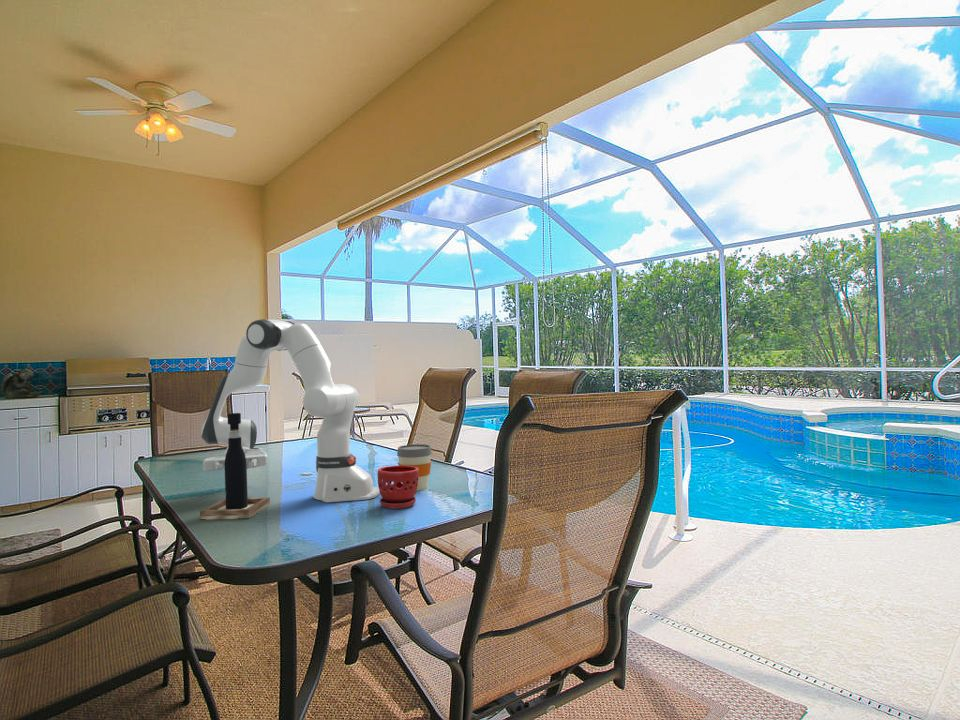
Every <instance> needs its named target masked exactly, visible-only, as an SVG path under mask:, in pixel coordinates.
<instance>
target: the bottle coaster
mask: <svg viewBox="0 0 960 720" xmlns="http://www.w3.org/2000/svg"><path fill="white" fill-rule="evenodd" d="M270 505H271V498H270V497H248V506H247V507H245V508H243V509H226V498H223V499H220V500H219V501H217V502H215V503H213V504H212V505H209V506H208V507H206V508H204V509H201V510H200V511H199V520H200V519H206V520H237V519H238V518H241V519H242V518H249V519H251V518H252V517H254V516H255V515H257V514H258V513H260V512H262V511H263V510H265V509H266V508H268V507H269V506H270ZM267 506H268V507H267ZM264 508H265V509H264ZM262 509H263V510H262ZM261 510H262V511H261ZM259 511H260V512H259ZM256 513H257V514H256ZM253 515H254V516H253ZM250 517H251V518H250ZM241 519H240V520H241ZM238 520H239V519H238Z"/></svg>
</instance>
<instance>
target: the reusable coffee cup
mask: <svg viewBox="0 0 960 720" xmlns="http://www.w3.org/2000/svg"><path fill="white" fill-rule="evenodd" d="M432 454H433V453H432V447H431V445H430V444H422V443H421V444H420V443H419V444H418V443H416V444H405V445H401V446H398V447H397V454H396V455H397V458H398V463H397V464H398V465H397V466H414V467H417V468H418V469H419V479H418V487H417V491H416V492H418V491H423V490H427V489H428V485H429V477H430V474H431V467H432V461H431V455H432ZM401 483H402V482H401ZM402 484H403V483H402Z"/></svg>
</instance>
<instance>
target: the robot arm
mask: <svg viewBox="0 0 960 720" xmlns="http://www.w3.org/2000/svg"><path fill="white" fill-rule="evenodd" d="M273 351H278V352H281V351H288V354H289V355H290V357H291V358H292V361H293V362H294V365H295V367H296V369H297V371H298V372H299V375H300V377H301V380H302V384H303V388H304V396H303V398H302V399H303V400H302V403H303V408H304V411H306V413H307V414H308V415H310V416H312V417H316V418H323V419H322V422H321V426H320V428H319V430H318V432H317V434H316V448H317V449H316V450H317V452H316V456H315V457H316V458H315V469H316V470H315V471H316V482H315V483H316V484H315V490H314V494H313V499H315V500H319V501H321V502H323V503H335V502H350V501H351V502H352V501H365V500H370V499H371V500H372V499H374V498H376V497H377V496H378V495H379V494H380V491H379V487H378V486H377V487H376V486H374V482H373V478H372V476H371V474H370V473H369V472H367V471H366V470H364V469H363V468H362V467H360V466H359V465H357V455H353V454H352V453H351V442H350V441H351V437H350V436H351V435H350V434H351V426H352V423H353V416H354V413H355V409H356V407H357V406H358V404H359V402H360V401H359V400H360V395H359V392H358V391H357V389H356V388H355V387H354V386H352V385H349V384H347V383H335V382H334V380H333V378H332V377H333V376H332V373H331V372H332V370H331V369H332V362H331V360H330V358H329V356H328V355H327V353H326V351H325V349H324V347H323V346H322V343H321V342H320V340H319V339H318V337H317V335H316V334H315V333H314V331H313V330H312V328H310V327H309V325H308V324H307V323H302V322H301V323H294V322H291V321H289V320H287V321H286V320H281V319H280V320H279V319H273V318H272V319H264V318H260V319H256V320H254V321H252V322H250V323H249V325H248V326H247V328H246V331H245V335H244V336H242V338H241V340H240V342H239V345H238V348H237V352H236V355H235V361H234V365H233V368H232V369H231V371H230V372H229V373H227V374H224V376H223V377H222V378H221V380H220V382H219V385H218V388H217V390H216V392H215V395H214V397H213V401H212V403H211V406H210V409H209V412H208V415H207V417H206V418H205V421H204V422H203V424H202V426H201V430H200V436H201V439H202V440H203V441H204V442H205V443H206V444H208V445H228V446H227V447H226V449H225V450H224V452H223V456H212V457H211V456H210V457H207V458H205V459H203V461H202V471H203V472H212V471H221V470H223V471H225V465H224V464H225V457H226V453H227V450H228V447H229V444H228V439H229V438H230V437H229V436H230V435H229V432H234V431H230V424H228V417H223V416H221V415H222V411H223V409H224V406H225V404H226V401H227V398H228V397H229V396H230V395H232V394H233V393H236V392H239V391H243V390H248V389H251V388H255V387H256V386H259V385H260V384H261V383H262V382H263V381H264V380H265V377H266V374H267V369H268V365H269V363H268V362H269V357H270V355H271V353H272V352H273ZM237 431H240V437H241V446H242V448H243V451H244V453H245V457H246V463H247V470H249V469H254V468H259V467H265V466H268V464H269V463H268V462H269V461H268V458H269V457H268V454H267V452H266V451H264V450H263V448H261V447H258V448H257V447H256V443H257V437H258V435H257V433H258V431H257V425H256V423H255V422H254V420H252V419H244V418H241V423H240V424H239V430H237Z"/></svg>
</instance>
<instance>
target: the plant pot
mask: <svg viewBox="0 0 960 720" xmlns="http://www.w3.org/2000/svg"><path fill="white" fill-rule="evenodd" d="M418 479H419V469H418V468H417V467H414V466H398V465H388V466H382V467H380V468H378V469H377V485H378V486H377V488H379V491H380V493H379V494H380V496H381V498H380V499H379V503H380V505H381V506H382V507H384V508H386V509H390V510H393V509H405V508H409V507H411V506H413V505H414V504H416V501H417V498H416V497H415V495H416V494H417V492H418V491H417V487H418ZM392 482H393V483H392ZM402 483H403V484H402Z"/></svg>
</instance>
